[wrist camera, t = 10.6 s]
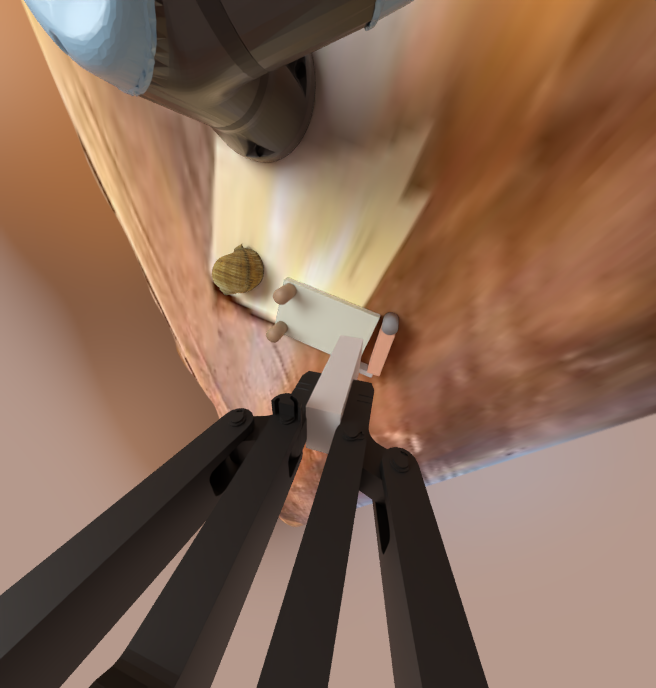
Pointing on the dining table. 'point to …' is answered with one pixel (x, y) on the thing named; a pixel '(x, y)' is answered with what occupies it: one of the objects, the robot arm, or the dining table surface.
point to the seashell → (238, 271)
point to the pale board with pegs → (319, 318)
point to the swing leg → (383, 343)
